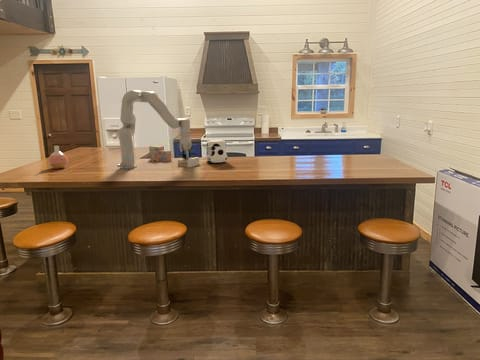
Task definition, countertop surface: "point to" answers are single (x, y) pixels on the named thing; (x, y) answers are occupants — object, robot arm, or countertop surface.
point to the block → (183, 162)
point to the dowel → (187, 155)
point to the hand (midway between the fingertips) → (186, 157)
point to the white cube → (216, 151)
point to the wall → (193, 162)
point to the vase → (57, 159)
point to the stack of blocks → (159, 153)
